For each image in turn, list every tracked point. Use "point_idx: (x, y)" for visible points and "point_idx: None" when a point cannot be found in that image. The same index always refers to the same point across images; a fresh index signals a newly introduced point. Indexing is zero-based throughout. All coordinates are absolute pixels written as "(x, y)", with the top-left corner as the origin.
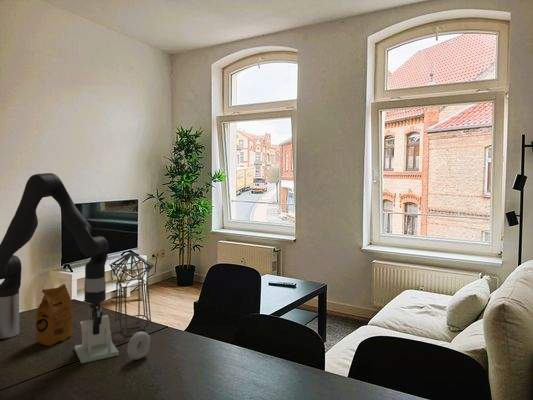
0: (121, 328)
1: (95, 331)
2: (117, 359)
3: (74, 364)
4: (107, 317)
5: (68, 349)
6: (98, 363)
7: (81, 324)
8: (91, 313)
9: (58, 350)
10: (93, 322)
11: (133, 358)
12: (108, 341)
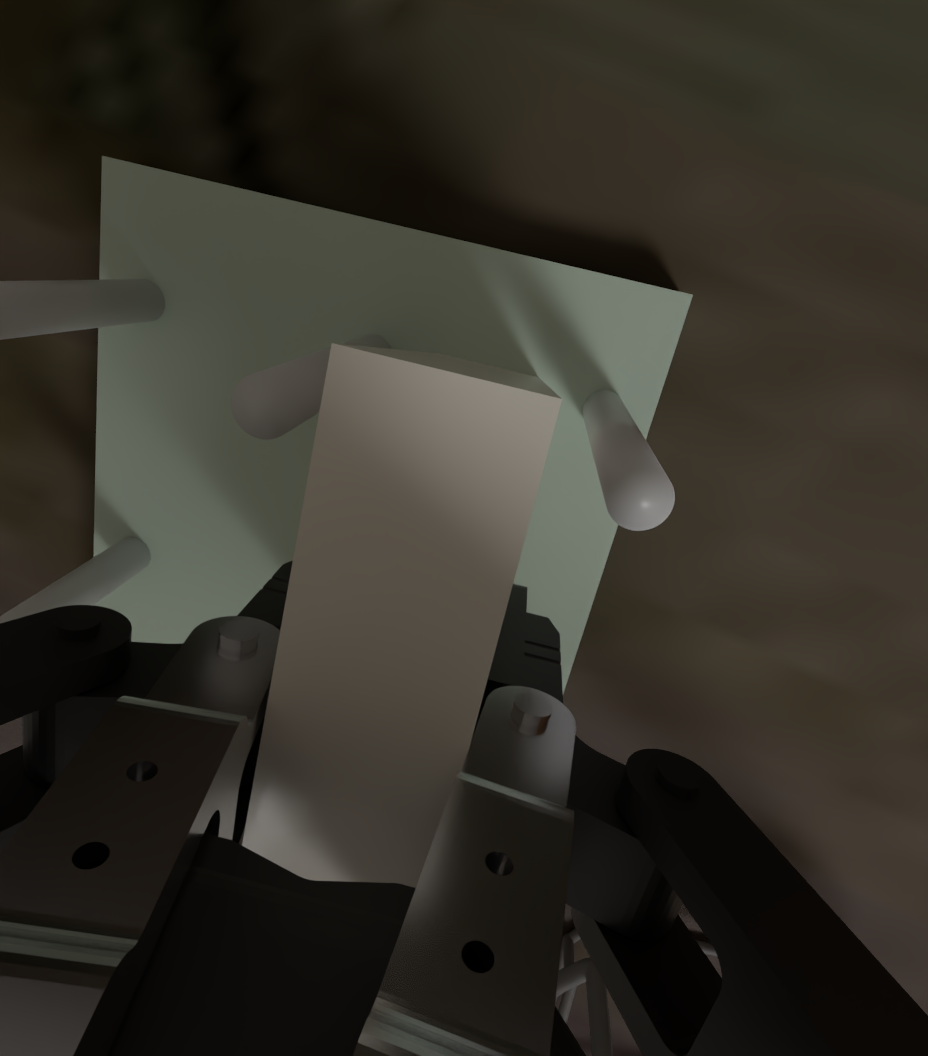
0: (567, 970)
1: (273, 587)
2: (19, 547)
3: (156, 70)
4: None
5: (771, 222)
6: (20, 340)
7: (341, 358)
8: (35, 866)
9: (872, 68)
10: (175, 663)
11: None
12: (26, 602)
